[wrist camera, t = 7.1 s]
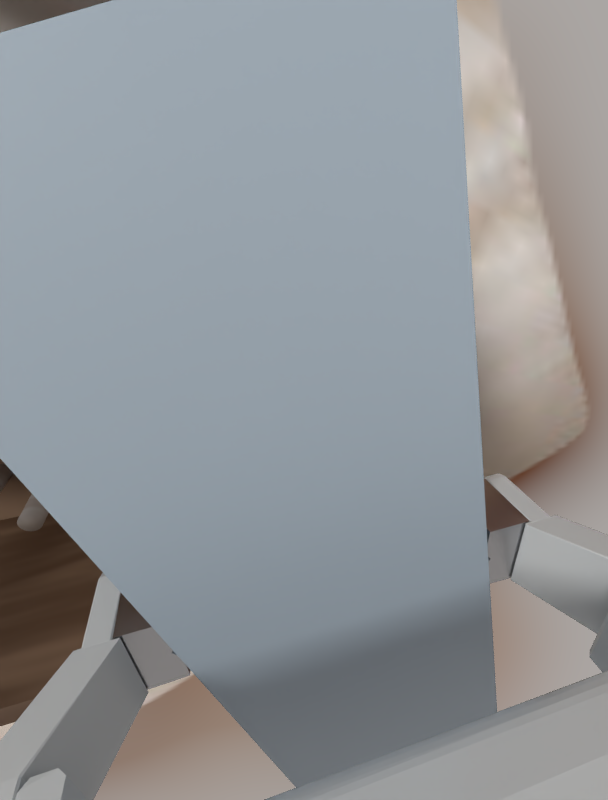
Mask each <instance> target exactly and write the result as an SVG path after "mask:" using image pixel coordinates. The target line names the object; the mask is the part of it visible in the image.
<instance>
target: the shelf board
mask: <svg viewBox="0 0 608 800" xmlns="http://www.w3.org/2000/svg"><path fill="white" fill-rule="evenodd" d="M0 459H1V460H2V461H3V462H4V463H5V464H6V465H7V467H8V468H9V469H10V470H11V471H12V472H13V473H14V474H15V475H16V477H17V478H18V479H19V480H20V481H21V482H22V483H23V484H24V485H25V487H26V488H27V489H28V490H29V491H30V492H31V493H32V494H33V495H34V497H35V498H36V499H37V500H38V501H39V502H40V503H41V504H42V505H43V507H44V508H45V509H46V510H47V511H48V512H49V513H50V514H51V515H52V517H53V518H54V519H55V520H56V521H57V522H58V523H59V524H60V525H61V527H62V528H63V529H64V530H65V531H66V532H67V533H68V534H69V535H70V537H71V538H72V539H73V540H74V541H75V542H76V543H77V544H78V545H79V547H80V548H81V549H82V550H83V551H84V552H85V553H86V554H87V555H88V557H89V558H90V559H91V560H92V561H93V562H94V563H95V564H96V565H97V567H98V568H99V569H100V570H101V571H102V572H103V573H104V574H105V575H106V577H107V578H108V579H109V580H110V581H111V582H112V583H113V584H114V585H115V587H116V588H117V589H118V590H119V591H120V592H121V593H122V594H123V595H124V597H125V598H126V599H127V600H128V601H129V602H130V603H131V604H132V605H133V607H134V608H135V609H136V610H137V611H138V612H139V613H140V614H141V615H142V617H143V618H144V619H145V620H146V621H147V622H148V623H149V624H150V625H151V627H152V628H153V629H154V630H155V631H156V632H157V633H158V634H159V636H160V637H161V638H162V639H163V640H164V641H165V642H166V643H167V644H168V646H169V647H170V648H171V649H172V650H173V651H174V652H175V653H176V654H177V656H178V657H179V658H180V659H181V660H182V661H183V662H184V663H185V664H186V666H187V667H188V668H189V669H190V670H191V671H192V672H193V673H194V674H195V676H196V677H197V678H198V679H199V680H200V681H201V682H202V683H203V684H204V686H205V687H206V688H207V689H208V690H209V691H210V692H211V693H212V694H213V696H214V697H215V698H216V699H217V700H218V701H219V702H220V703H221V704H222V706H223V707H224V708H225V709H226V710H227V711H228V712H229V713H230V714H231V716H232V717H233V718H234V719H235V720H236V721H237V722H238V723H239V724H240V725H241V727H242V728H243V729H244V730H245V731H246V732H247V733H248V734H249V735H250V737H251V738H252V739H253V740H254V741H255V742H256V743H257V744H258V746H260V748H261V749H262V750H263V751H264V752H265V753H266V754H267V756H268V757H269V758H270V759H271V760H272V761H273V762H274V763H275V764H276V766H277V767H278V768H279V769H280V770H281V771H282V772H283V773H284V774H285V776H286V777H287V778H288V779H289V780H290V781H291V782H292V783H293V784H294V785H295V786H296V788H297V787H300V786H302V785H305V784H308V783H310V782H313V781H316V780H318V779H321V778H324V777H326V776H329V775H331V774H334V773H337V772H339V771H342V770H345V769H347V768H350V767H353V766H355V765H358V764H361V763H363V762H366V761H369V760H371V759H374V758H377V757H379V756H382V755H385V754H387V753H390V752H393V751H395V750H398V749H401V748H403V747H406V746H409V745H411V744H414V743H417V742H419V741H422V740H424V739H427V738H430V737H432V736H435V735H438V734H440V733H443V732H446V731H448V730H451V729H454V728H456V727H459V726H462V725H464V724H467V723H470V722H472V721H475V720H478V719H480V718H483V717H486V716H488V715H491V714H494V713H496V712H497V703H496V685H495V667H494V651H493V633H492V615H491V598H490V579H489V562H488V544H487V527H486V509H485V492H484V474H483V456H482V439H481V421H480V404H479V386H478V369H477V351H476V334H475V316H474V298H473V281H472V263H471V246H470V228H469V211H468V193H467V175H466V158H465V140H464V123H463V105H462V88H461V70H460V53H459V35H458V17H457V0H112V1H108V2H105V3H101V4H98V5H94V6H91V7H87V8H84V9H80V10H77V11H73V12H70V13H67V14H63V15H60V16H56V17H53V18H49V19H46V20H42V21H39V22H35V23H32V24H29V25H25V26H22V27H18V28H15V29H11V30H8V31H4V32H1V33H0Z"/></svg>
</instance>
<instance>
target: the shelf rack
mask: <svg viewBox="0 0 608 800" xmlns="http://www.w3.org/2000/svg"><path fill="white" fill-rule="evenodd" d="M102 573H103V572H102V571H101V570H100V569H99V568H98V567H97V565H96V564H95V563H94V562H93V561H92V560H91V559H90V558H89V557H88V555H87V554H86V553H85V552H84V551H83V550H82V549H81V548H80V547H79V545H78V544H77V543H76V542H75V541H74V540H73V539H72V538H71V537H70V535H69V534H68V533H67V532H66V531H65V530H64V529H63V528H62V527H61V525H60V524H59V523H58V522H57V521H56V520H55V519H54V518H53V517H52V515H51V514H50V513H49V512H48V511H47V510H46V509H45V508H44V507H43V505H42V504H41V503H40V502H39V501H38V500H37V499H36V498H35V497H34V495H33V494H32V493H31V492H30V491H29V490H28V489H27V488H26V487H25V485H24V484H23V483H22V482H21V481H20V480H19V479H18V478H17V477H16V475H15V474H14V473H13V472H12V471H11V470H10V469H9V468H8V467H7V465H6V464H5V463H4V462H3V461H2V460H1V459H0V726H3V725H6V724H9V723H13V722H16V721H17V720H18V718H19V717H20V716H21V715H22V713H23V712H24V711H25V710H26V708H27V707H28V706H29V705H30V703H31V702H32V701H33V700H34V699H35V697H36V696H37V695H38V694H39V692H40V691H41V690H42V689H43V687H44V686H45V685H46V684H47V683H48V681H49V680H50V679H51V678H52V676H53V675H54V674H55V673H56V671H57V670H58V669H59V668H60V666H61V665H62V664H63V663H64V662H65V660H66V659H67V658H68V657H69V655H70V654H71V653H72V652H73V651H74V650H77V649H81V647H82V643H83V639H84V635H85V631H86V627H87V623H88V619H89V615H90V611H91V607H92V603H93V599H94V595H95V591H96V587H97V583H98V579H99V578H100V576H101V575H102Z"/></svg>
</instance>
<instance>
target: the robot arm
mask: <svg viewBox="0 0 608 800" xmlns="http://www.w3.org/2000/svg"><path fill="white" fill-rule="evenodd" d="M484 492H485V509H486V527H487V544H488V562H489V579H490V583H493V582H497V581H501V580H504V579H508V578H511V580H512V581H513V582H515V583H517V584H518V585H520V586H521V587H523V588H525V589H526V590H528V591H529V592H531V593H533V594H534V595H536V596H538V597H539V598H541V599H542V600H544V601H546V602H547V603H549V604H551V605H552V606H553V607H555V608H557V609H558V610H560V611H561V612H563V613H565V614H566V615H568V616H569V617H571V618H573V619H574V620H576V621H577V622H579V623H581V624H582V625H584V626H585V627H587V628H589V629H590V630H592V631H593V632H595V633H597V636H596V638H595V640H594V643H593V645H592V647H591V649H590V658H591V659H592V660H593V662H594V663H595V664H596V665H597V666H598V668H599V669H600V670H601V671H602V672H603V673H600V674H597V675H595V676H592V677H589V678H587V679H584V680H581V681H579V682H576V683H573V684H571V685H568V686H565V687H563V688H560V689H557V690H555V691H552V692H549V693H547V694H544V695H541V696H539V697H536V698H534V699H531V700H528V701H525V702H523V703H520V704H518V705H515V706H512V707H510V708H507V709H504V710H502V711H499V712H496V713H494V714H491V715H488V716H486V717H483V718H480V719H478V720H475V721H472V722H470V723H467V724H464V725H462V726H459V727H456V728H454V729H451V730H448V731H446V732H443V733H440V734H438V735H435V736H432V737H430V738H427V739H424V740H422V741H419V742H417V743H414V744H411V745H409V746H406V747H403V748H401V749H398V750H395V751H393V752H390V753H387V754H385V755H382V756H379V757H377V758H374V759H371V760H369V761H366V762H363V763H361V764H358V765H355V766H353V767H350V768H347V769H345V770H342V771H339V772H337V773H334V774H331V775H329V776H326V777H324V778H321V779H318V780H316V781H313V782H310V783H308V784H305V785H302V786H300V787H297V788H294V789H292V790H289V791H287V792H284V793H281V794H279V795H276V796H273V797H270V798H268V799H265V800H608V535H607V534H604V533H602V532H599V531H596V530H594V529H591V528H589V527H586V526H583V525H581V524H578V523H576V522H573V521H570V520H568V519H565V518H562V517H559V516H557V515H554V516H549V515H548V514H547V513H546V512H545V511H544V510H543V509H542V508H540V507H539V506H538V505H537V504H536V503H534V501H533V500H531V499H530V498H529V497H528V496H527V495H526V494H525V493H524V492H522V491H521V490H520V489H519V488H518V487H517V486H516V485H514V484H513V483H512V482H511V481H510V480H509V479H508V478H507V477H505V476H504V475H502V474H499V473H498V474H494V475H490V476H486V477H484ZM189 675H190V669H189V668H188V667H187V666H186V664H185V663H184V662H183V661H182V660H181V659H180V658H179V657H178V656H177V654H176V653H175V652H174V651H173V650H172V649H171V648H170V647H169V646H168V644H167V643H166V642H165V641H164V640H163V639H162V638H161V637H160V636H159V634H158V633H157V632H156V631H155V630H154V629H153V628H152V627H151V625H150V624H149V623H148V622H147V621H146V620H145V619H144V618H143V617H142V615H141V614H140V613H139V612H138V611H137V610H136V609H135V608H134V607H133V605H132V604H131V603H130V602H129V601H128V600H127V599H126V598H125V597H124V595H123V594H122V593H121V592H120V591H119V590H118V589H117V588H116V587H115V585H114V584H113V583H112V582H111V581H110V580H109V579H108V578H107V577H106V575H105V574H104V573H102V575H101V576H100V578H99V579H98V583H97V587H96V591H95V595H94V599H93V603H92V607H91V611H90V615H89V619H88V623H87V627H86V631H85V635H84V639H83V643H82V647H81V649H77V650H74V651H73V652H72V653H71V654H70V655H69V657H68V658H67V659H66V660H65V662H64V663H63V664H62V665H61V666H60V668H59V669H58V670H57V671H56V673H55V674H54V675H53V676H52V678H51V679H50V680H49V681H48V683H47V684H46V685H45V686H44V687H43V689H42V690H41V691H40V692H39V694H38V695H37V696H36V697H35V699H34V700H33V701H32V702H31V703H30V705H29V706H28V707H27V708H26V710H25V711H24V712H23V713H22V715H21V716H20V717H19V718H18V720H17V721H16V722H15V723H14V724H13V726H12V727H11V728H10V729H9V731H8V732H7V733H6V734H5V736H4V737H3V738H2V739H1V740H0V800H93V799H94V798H95V796H96V794H97V792H98V790H99V788H100V786H101V784H102V782H103V780H104V778H105V776H106V774H107V772H108V770H109V768H110V766H111V764H112V762H113V760H114V758H115V757H116V755H117V752H118V751H119V749H120V747H121V745H122V743H123V741H124V739H125V737H126V735H127V733H128V731H129V729H130V727H131V725H132V723H133V721H134V719H135V717H136V715H137V713H138V711H139V710H140V708H141V706H142V704H143V702H144V700H145V698H146V696H147V694H148V691H147V690H148V689H151V688H154V687H157V686H160V685H163V684H166V683H169V682H172V681H175V680H178V679H180V678H183V677H186V676H189Z"/></svg>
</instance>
